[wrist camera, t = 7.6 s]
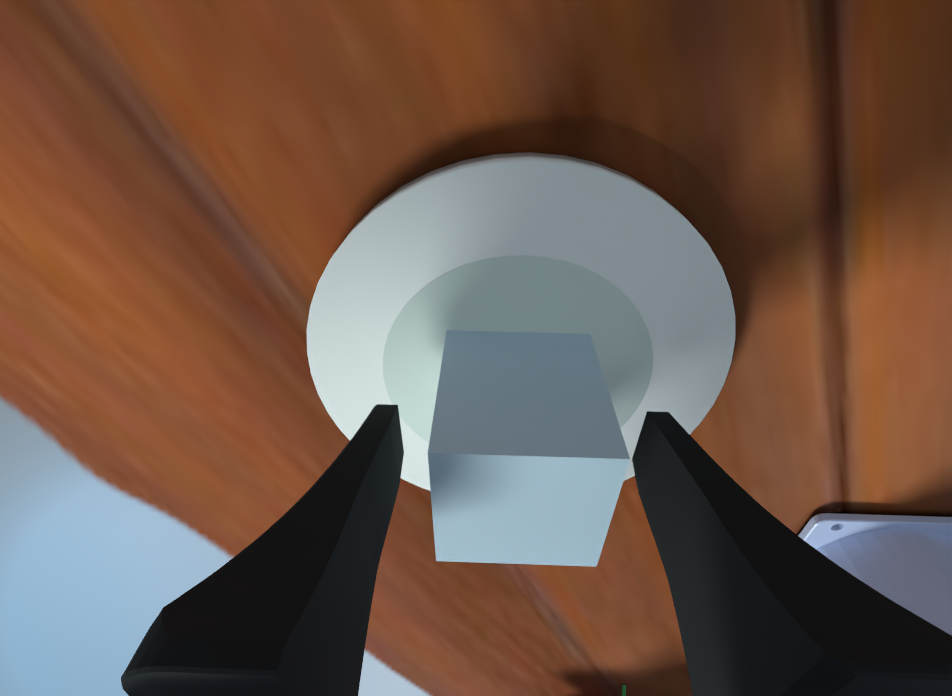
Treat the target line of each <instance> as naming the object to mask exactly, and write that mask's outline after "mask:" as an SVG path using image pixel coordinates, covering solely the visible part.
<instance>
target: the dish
mask: <svg viewBox="0 0 952 696" xmlns="http://www.w3.org/2000/svg"><path fill="white" fill-rule="evenodd" d="M446 330H448V331H490V332H531V333H573V334H590V335H591V338H592V341H593V344H594V347H595V350H596V354H597V357H598V360H599V363H600V366H601V369H602V372H603V376H604V379H605V382H606V385H607V388H608V391H609V394H610V397H611V401H612V404H613V407H614V410H615V413H616V416H617V419H618V423H619V426H620V429H621V432H622V435H623V438H624V441H625V444H626V448H627V451H628V454H629V457H630V461H629V464H628V468H627V471H626V474H625V477H624V480H627V479H629V478H631V477H633V476H635V472H634V467H633V462H632V457H633V454H634V451H635V448H636V445H637V442H638V438H639V435H640V432H641V429H642V426H643V422H644V419H645V416H646V413H647V411H652V412H669V413H670V414H671V415H672V416H673V417H674V418H675V419H676V421H677V422H678V423H679V424H680V425H681V426H682V427H683V428H684V429H685V430H686V431H687V433H688V434H689V435H690V434H691V433H692V431H693V430H694V429H695V428H696V427H697V426H698V425H699V424H700V423H701V421H702V420H703V418H704V417H705V416H706V414H707V413H708V411H709V410H710V409H711V407H712V406H713V404H714V402H715V400H716V398H717V397H718V395H719V393H720V391H721V389H722V387H723V385H724V383H725V380H726V377H727V374H728V371H729V368H730V365H731V362H732V356H733V350H734V344H735V311H734V305H733V299H732V294H731V290H730V287H729V284H728V282H727V279H726V276H725V274H724V271H723V268H722V266H721V264H720V263H719V261H718V259H717V258H716V256H715V254H714V253H713V251H712V249H711V248H710V246H709V244H708V243H707V242H706V241H705V239H704V238H703V237H702V236H701V235H700V234H699V233H698V231H697V230H696V229H695V228H694V227H693V226H692V224H691V223H690V222H689V221H688V220H687V219H686V218H685V217H684V216H683V215H682V214H681V213H680V212H679V211H678V210H677V209H676V208H674V207H673V206H672V205H671V204H670V203H668V202H667V201H666V200H665V199H664V198H662V197H661V196H660V195H659V194H657V193H656V192H655V191H654V190H652V189H651V188H649V187H647V186H645V185H644V184H642V183H640V182H639V181H637V180H635V179H633V178H632V177H630V176H628V175H627V174H624V173H621V172H619V171H616V170H614V169H611V168H609V167H606V166H604V165H601V164H599V163H596V162H591V161H587V160H583V159H578V158H574V157H570V156H566V155H557V154H545V153H533V152H523V153H505V154H493V155H488V156H483V157H477V158H472V159H467V160H462V161H459V162H456V163H453V164H450V165H447V166H445V167H442V168H439V169H436V170H433V171H430V172H428V173H426V174H424V175H422V176H420V177H418V178H417V179H415V180H413V181H411V182H409V183H407V184H405V185H403V186H401V187H400V188H398V189H397V190H396V191H394V192H393V193H391V194H390V195H389V196H387V197H386V198H384V199H383V200H382V201H380V202H379V203H377V204H376V205H375V206H374V207H373V208H372V209H371V210H370V211H369V212H368V213H367V214H366V215H365V216H364V217H363V218H362V219H361V220H360V221H359V222H358V223H357V224H356V225H355V226H354V228H353V229H352V230H351V232H350V233H349V234H348V236H347V237H346V238H345V240H344V241H343V242H342V243H341V245H340V246H339V248H338V249H337V250H336V252H335V253H334V255H333V256H332V258H331V259H330V261H329V263H328V265H327V267H326V268H325V270H324V272H323V274H322V276H321V278H320V280H319V282H318V284H317V287H316V290H315V293H314V296H313V299H312V303H311V306H310V311H309V318H308V325H307V354H308V360H309V365H310V371H311V375H312V378H313V381H314V384H315V386H316V389H317V392H318V395H319V397H320V399H321V400H322V402H323V404H324V406H325V408H326V410H327V412H328V414H329V415H330V416H331V418H332V419H333V421H334V422H335V423H336V425H337V426H338V428H339V429H340V430H341V431H342V432H343V434H344V435H345V436H346V437H347V438H348V439H349V440H351V439H352V438H353V436H354V435H355V434H356V432H357V431H358V429H359V428H360V427H361V425H362V424H363V422H364V421H365V419H366V418H367V416H368V415H369V414H370V412H371V410H372V409H373V407H374V406H376V405H377V404H386V405H398V410H399V418H400V426H401V433H402V441H403V449H404V456H403V463H402V470H401V477H400V478H402V479H404V480H406V481H408V482H410V483H412V484H415V485H417V486H419V487H422V488H424V489H427V490H430V491H431V489H430V476H429V464H428V447H429V441H430V434H431V428H432V421H433V415H434V408H435V402H436V395H437V389H438V382H439V376H440V369H441V363H442V356H443V350H444V343H445V337H446ZM624 480H623V481H624Z"/></svg>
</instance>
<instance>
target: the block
mask: <svg viewBox="0 0 952 696" xmlns="http://www.w3.org/2000/svg"><path fill="white" fill-rule="evenodd" d="M629 461H630V457H629V454H628V451H627V448H626V444H625V441H624V438H623V435H622V432H621V429H620V426H619V423H618V419H617V416H616V413H615V410H614V407H613V404H612V401H611V397H610V394H609V391H608V388H607V385H606V382H605V379H604V376H603V372H602V369H601V366H600V363H599V360H598V357H597V354H596V350H595V347H594V344H593V341H592V338H591V335H590V334H573V333H531V332H490V331H448V330H446V337H445V343H444V350H443V356H442V363H441V369H440V376H439V382H438V389H437V395H436V402H435V408H434V415H433V421H432V428H431V434H430V441H429V447H428V464H429V476H430V489H431V501H432V514H433V526H434V539H435V551H436V561H452V562H481V563H510V564H539V565H568V566H597V563H598V560H599V557H600V554H601V551H602V547H603V544H604V541H605V538H606V535H607V531H608V528H609V525H610V522H611V519H612V515H613V512H614V509H615V506H616V503H617V500H618V496H619V493H620V490H621V487H622V484H623V480H624V477H625V474H626V471H627V468H628V464H629Z"/></svg>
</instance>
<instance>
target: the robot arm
mask: <svg viewBox="0 0 952 696" xmlns="http://www.w3.org/2000/svg"><path fill="white" fill-rule="evenodd" d="M403 456H404V449H403V441H402V433H401V426H400V418H399V410H398V405H386V404H377V405H376V406H374V407H373V409H372V410H371V412H370V414H369V415H368V416H367V418H366V419H365V421H364V422H363V424H362V425H361V427H360V428H359V429H358V431H357V432H356V434H355V435H354V436H353V438H352V439H351V440H350V442H349V443H348V444H347V445H346V447H345V448H344V449H343V451H342V452H341V453H340V454H339V456H338V457H337V458H336V459H335V461H334V462H333V463H332V464H331V465H330V467H329V468H328V469H327V470H326V471H325V472H324V474H323V475H322V476H321V477H320V478H319V479H318V480H317V482H316V483H315V484H314V485H313V486H312V487H311V488H310V489H309V490H308V491H307V492H306V493H305V495H304V496H303V497H302V498H301V499H300V500H299V501H298V502H297V503H296V504H295V505H294V506H293V507H292V508H291V509H290V510H289V511H288V512H286V513H285V514H284V515H283V516H282V517H281V518H280V519H279V520H278V521H277V522H276V523H274V524H273V525H272V526H271V527H270V528H269V529H268V530H267V531H266V532H265V533H263V534H262V535H261V536H260V537H259V538H258V539H256V540H255V541H254V542H253V543H252V544H250V545H249V546H248V547H247V548H245V549H244V550H243V551H241V552H240V553H239V554H238V555H236V556H235V557H234V558H233V559H231V560H230V561H229V562H227V563H226V564H225V565H224V566H222V567H221V568H220V569H219V570H217V571H216V572H214V573H213V574H212V575H210V576H209V577H208V578H206V579H205V580H203V581H202V582H200V583H199V584H197V585H196V586H195V587H193V588H192V589H190V590H189V591H187V592H186V593H184V594H183V595H181V596H180V597H179V598H177V599H176V600H174V601H173V602H171V603H170V604H168V605H167V606H165V607H164V608H163V609H162V611H161V612H160V614H159V615H158V617H157V618H156V620H155V621H154V623H153V624H152V625H151V627H150V628H149V630H148V632H147V633H146V635H145V637H144V639H143V640H142V642H141V644H140V646H139V647H138V649H137V651H136V653H135V654H134V656H133V658H132V660H131V661H130V663H129V665H128V667H127V668H126V670H125V672H124V674H123V675H122V677H121V682H122V687H123V689H124V691H125V692H126V693H127V694H128V695H129V696H358V691H359V682H360V676H361V669H362V662H363V655H364V648H365V642H366V635H367V629H368V622H369V616H370V610H371V603H372V598H373V592H374V586H375V580H376V574H377V569H378V565H379V560H380V556H381V552H382V549H383V545H384V541H385V537H386V534H387V530H388V526H389V522H390V519H391V515H392V511H393V507H394V504H395V500H396V496H397V492H398V488H399V484H400V477H401V470H402V463H403ZM632 462H633V467H634V472H635V478H636V482H637V487H638V491H639V495H640V498H641V501H642V504H643V507H644V510H645V513H646V516H647V519H648V522H649V525H650V527H651V530H652V533H653V536H654V539H655V542H656V545H657V548H658V551H659V554H660V556H661V559H662V562H663V565H664V568H665V572H666V575H667V578H668V582H669V585H670V589H671V594H672V598H673V602H674V606H675V611H676V615H677V619H678V624H679V628H680V633H681V637H682V642H683V647H684V651H685V656H686V661H687V666H688V672H689V677H690V682H691V687H692V692H693V696H952V517H937V516H904V515H871V514H838V513H821V514H817V515H815V516H813V517H812V518H811V519H810V521H809V522H808V523H807V525H806V526H805V527H804V529H803V530H802V531H801V533H800V534H799V535H798V536H797V535H796V534H795V533H794V532H792V531H791V530H790V529H789V528H787V527H786V526H785V525H784V524H783V523H781V522H780V521H779V520H778V519H776V518H775V517H774V516H773V515H772V514H770V513H769V512H768V511H767V510H766V509H764V508H763V507H762V506H761V505H760V504H759V503H758V502H756V501H755V500H754V499H753V498H752V497H751V496H750V495H749V494H748V493H747V492H746V491H745V490H743V489H742V488H741V487H740V486H739V485H738V484H737V483H736V482H735V481H734V480H733V479H732V478H731V477H730V476H729V475H728V474H727V473H726V472H725V471H724V470H723V469H722V468H721V467H720V466H719V465H718V464H717V463H716V462H715V461H714V460H713V459H712V458H711V457H710V456H709V455H708V454H707V453H706V452H705V451H704V450H703V449H702V448H701V447H700V446H699V444H698V443H697V442H696V441H695V440H694V439H693V438H692V437H691V436H690V435H689V434H688V433H687V431H686V430H685V429H684V428H683V427H682V426H681V425H680V424H679V423H678V422H677V421H676V419H675V418H674V417H673V416H672V415H671V414H670V413H669V412H652V411H647V413H646V416H645V419H644V422H643V426H642V429H641V432H640V435H639V438H638V442H637V445H636V448H635V451H634V454H633V457H632Z"/></svg>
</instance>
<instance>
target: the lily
mask: <svg viewBox="0 0 952 696" xmlns="http://www.w3.org/2000/svg"><path fill="white" fill-rule="evenodd" d="M622 696H626V685H623V684H622Z"/></svg>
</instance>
